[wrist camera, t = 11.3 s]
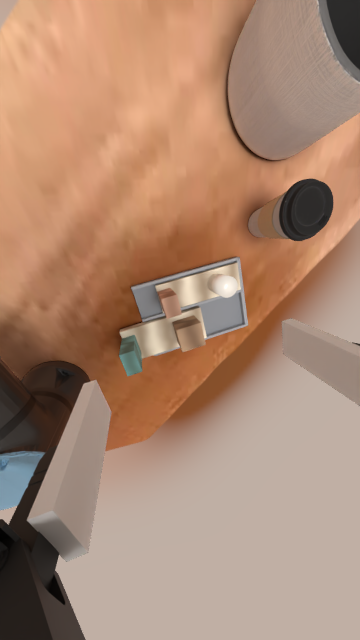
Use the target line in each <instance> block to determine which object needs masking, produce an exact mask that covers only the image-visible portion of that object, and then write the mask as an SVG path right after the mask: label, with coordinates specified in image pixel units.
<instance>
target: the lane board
mask: <svg viewBox="0 0 360 640" xmlns="http://www.w3.org/2000/svg"><path fill="white" fill-rule="evenodd" d="M233 262H234V263H238V271H239V279H240V286H241V290H237V291H236V293H235V294H234V295H233V296H231V297H228V298H224V297H222V296H218V297H214V298H211V299H208V300H204V301H201V302H198V303H195V304H191V305H188V306H185V307H182V308H180V309H181V311H182V310H185V309H188V308H192V307H195V306H199V307H200V308H201V313H202V317H203V322H204V327H205V331H206V336H207V338H204V339H205V340H206V339H209V338H212V337H215V336H218V335H221V334H224V333H227V332H230V331H233V330H236V329H239V328H242V327H245V326H248V321H247V313H246V305H245V297H244V289H243V281H242V273H241V265H240V257H233V258H230V259H226V260H223V261H219V262H216V263H212V264H208V265H205V266H201V267H198V268H194V269H191V270H187V271H184V272H180V273H177V274H173V275H170V276H166V277H163V278H159V279H156V280H152V281H148V282H145V283H141V284H138V285H134V286H131V289H132V291H133V294H134V297H135V300H136V303H137V305H138V308H139V311H140V314H141V317H142V321H143V322H146V321H149V320H153V319H156V318H159V317H162V316H165V314H164V313H163V311H162V308H161V304H160V301H159V298H158V294H157V291H156V287H155V285H156V284H160V283H163V282H167V281H170V280H174V279H177V278H181V277H184V276H188V275H191V274H195V273H198V272H202V271H205V270H209V269H212V268H216V267H219V266H223V265H226V264H230V263H233ZM178 348H180V346H179V347H176V348H173V349H170V350H167V351H164V352H161V353H158V354H155V355H154V356H157V355H160V354H163V353H166V352H169V351H172V350H175V349H178Z"/></svg>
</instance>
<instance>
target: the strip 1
mask: <svg viewBox="0 0 360 640" xmlns="http://www.w3.org/2000/svg"><path fill="white" fill-rule="evenodd" d="M217 273H218V274H223V275H227V276H231V277H234V278H235V279H236V281H237V284H238V288H237V290H241V286H240V279H239V271H238V263H234V262H233V263H230V264H226V265H223V266H219V267H216V268H212V269H209V270H205V271H202V272H198V273H195V274H191V275H188V276H184V277H181V278H177V279H174V280H170V281H167V282H163V283H160V284H156V285H155V287H156V291H157V294H158V298H159V301H160V304H161V308H162V311H163V313H164V314H165V316H166V318H167V319H169V318H172V317H175V316H178V315H182V312H181V309H180V308H182V307H185V306H188V305H191V304H195V303H198V302H201V301H204V300H208V299H211V298H214V297H218V296H220V295H218V294H216V293H214V292H212V291H210V290H209V288H208V285H207V283H208V279H209V278H210V276H212V275H213V274H217Z"/></svg>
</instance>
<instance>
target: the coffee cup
mask: <svg viewBox="0 0 360 640" xmlns="http://www.w3.org/2000/svg"><path fill="white" fill-rule="evenodd" d="M332 210H333V195H332V192H331V190H330V188H329V187H328V186H327V185H326V184H325V183H323V182H321V181H318V180H316V179H306V180H301V181H299V182H297V183H295V184H294V185H293V186H291V187H290V188H289V190H288V191H287V192H285V193H284V194H282V195H280V196H278V197H277V198H275V199H273V200H272V201H270V202H268V203H267V204H266V205H265V206H263V207H261V208H260V209H258V210H256V211H255V212H254V213H253V214H252V215H251V217H250V219H249V222H248V228H249V231H250V233H251V234H252V235H254V236H256V237H267V238H275V239H291V240H294V241H302V240H305V239H308V238H311V237H312V236H314V235H315V234H317V233H318V232H319V231H320V230H321V229H322V228H323V227H324V226H325V225H326V224H327V222H328V220H329V218H330V216H331V213H332Z"/></svg>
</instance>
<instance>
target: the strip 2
mask: <svg viewBox="0 0 360 640" xmlns="http://www.w3.org/2000/svg"><path fill="white" fill-rule="evenodd" d="M181 312H182V315H178V316H175V317H172V318H169V319H167V318H166V316H162V317H159V318H156V319H153V320H149V321H146V322H143V323H140V324H136V325H133V326H130V327H126V328H123V329H120V335H121V337H122V342H121V347H120V352H119V357H120V359H121V362H122V364H123V366H124V369H125V371H126V373H127V376H130V375H133V374H136V373H139V372H142V359H143V358H146V357H149V356H152V355H155V354H158V353H161V352H164V351H167V350H170V349H173V348H176V347H179V344H178V341H177V338H176V334H175V331H174V327H173V324H172V322H174V321H177V320H180V319H183V318H186V317H190V316H193V315H194V316H195V317H196V318H197V319H198V320H199V321H200V322H201V325H202V330H203V334H204V338H207V336H206V331H205V327H204V322H203V317H202V313H201V308H200V307H199V306H195V307H192V308H188V309H185V310H182V311H181Z"/></svg>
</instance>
